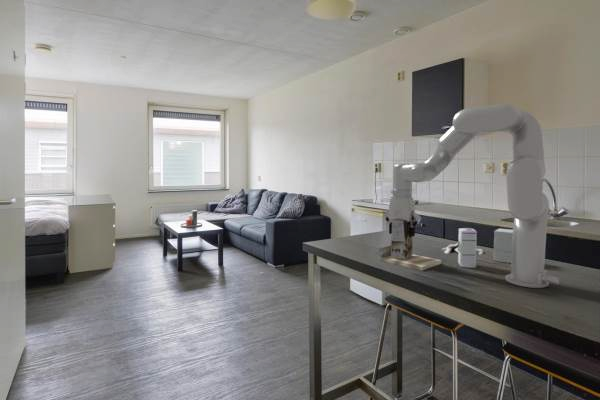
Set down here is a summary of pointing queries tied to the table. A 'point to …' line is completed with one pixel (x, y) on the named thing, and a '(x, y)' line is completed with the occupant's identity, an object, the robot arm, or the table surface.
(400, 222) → the coffee box
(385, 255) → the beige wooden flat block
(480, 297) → the table surface
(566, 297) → the table surface
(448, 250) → the cloth
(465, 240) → the syrup box
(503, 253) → the supplement box
